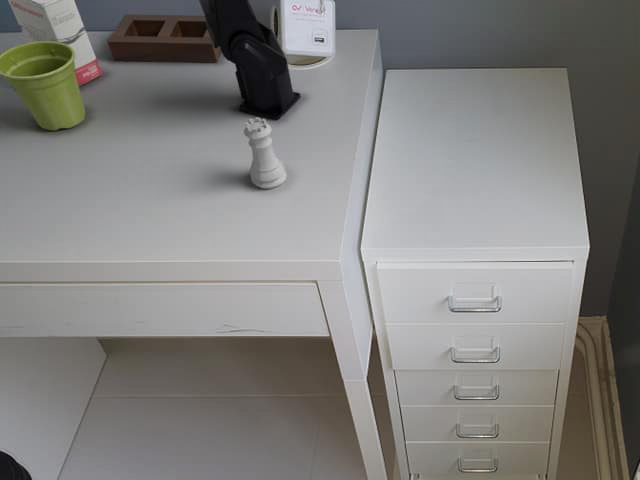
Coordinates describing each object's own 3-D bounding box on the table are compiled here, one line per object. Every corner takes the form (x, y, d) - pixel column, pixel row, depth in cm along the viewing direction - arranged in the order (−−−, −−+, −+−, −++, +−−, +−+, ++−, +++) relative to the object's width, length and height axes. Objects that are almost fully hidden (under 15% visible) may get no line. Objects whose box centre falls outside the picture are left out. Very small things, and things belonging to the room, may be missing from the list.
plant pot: (60, 94, 104) (32, 34, 97) (114, 109, 102) (89, 49, 95) (10, 128, 98) (-23, 67, 91) (66, 145, 96) (36, 84, 89)
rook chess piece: (280, 192, 91) (266, 136, 84) (246, 187, 91) (230, 131, 85) (292, 171, 93) (280, 115, 87) (259, 166, 94) (245, 110, 88)
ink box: (105, 74, 107) (72, -9, 98) (77, 89, 105) (40, 5, 95) (67, 57, 110) (31, -25, 101) (38, 72, 107) (-2, -12, 98)
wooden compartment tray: (217, 62, 110) (212, 43, 108) (114, 61, 110) (106, 41, 107) (229, 34, 115) (224, 15, 113) (131, 33, 115) (124, 14, 113)
